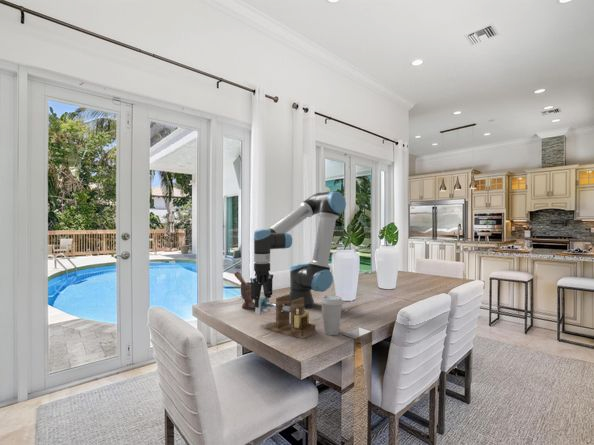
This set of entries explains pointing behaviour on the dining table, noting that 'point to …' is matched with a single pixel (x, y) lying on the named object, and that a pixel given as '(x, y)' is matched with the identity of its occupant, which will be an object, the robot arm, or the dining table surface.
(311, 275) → the robot arm
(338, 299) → the coffee cup
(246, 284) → the mortar and pestle
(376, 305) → the dining table surface
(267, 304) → the shaft
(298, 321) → the tan wooden piece
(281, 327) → the bracket
